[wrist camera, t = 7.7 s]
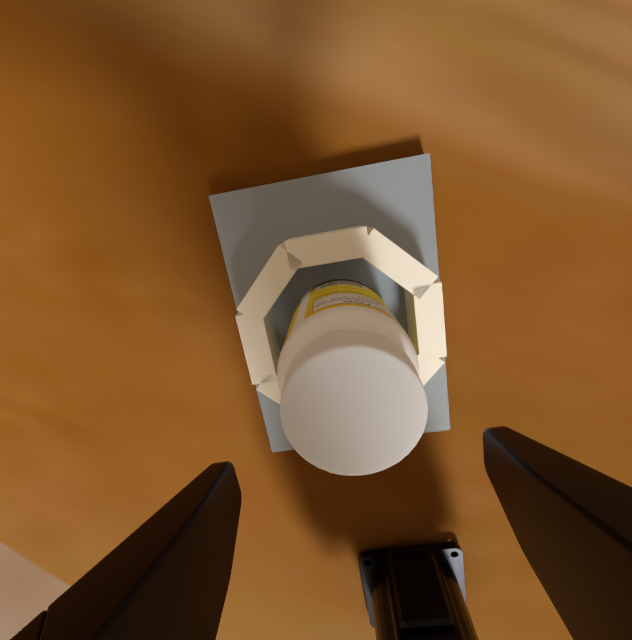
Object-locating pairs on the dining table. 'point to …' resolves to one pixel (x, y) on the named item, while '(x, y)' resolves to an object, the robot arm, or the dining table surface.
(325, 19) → the dining table surface
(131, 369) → the dining table surface
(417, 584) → the robot arm
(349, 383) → the supplement bottle
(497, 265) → the dining table surface
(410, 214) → the holder board
